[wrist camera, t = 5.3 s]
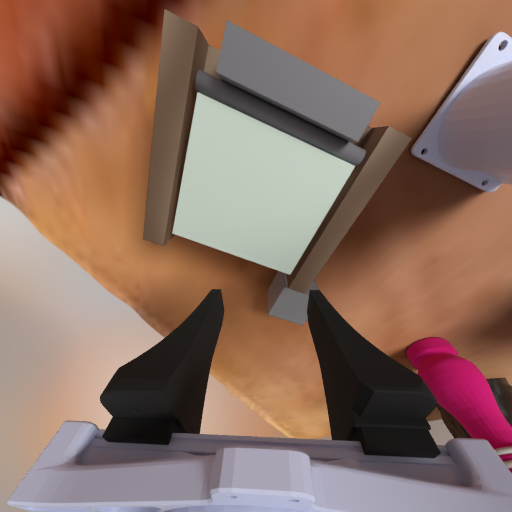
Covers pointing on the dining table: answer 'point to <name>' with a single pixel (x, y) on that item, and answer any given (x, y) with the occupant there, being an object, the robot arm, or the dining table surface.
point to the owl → (505, 396)
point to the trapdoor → (267, 152)
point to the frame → (177, 136)
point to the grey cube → (288, 300)
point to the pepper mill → (462, 393)
